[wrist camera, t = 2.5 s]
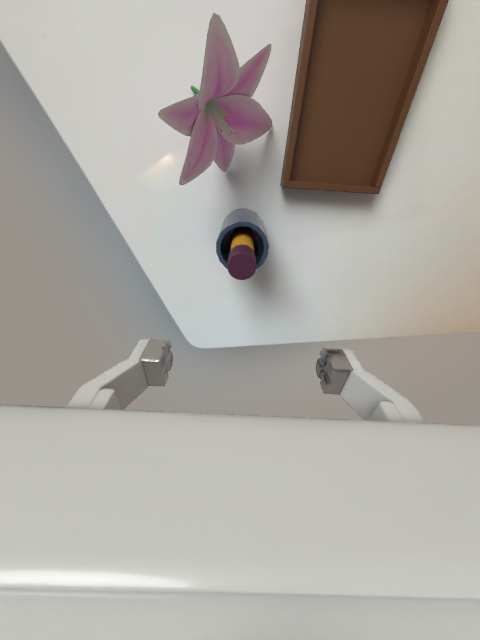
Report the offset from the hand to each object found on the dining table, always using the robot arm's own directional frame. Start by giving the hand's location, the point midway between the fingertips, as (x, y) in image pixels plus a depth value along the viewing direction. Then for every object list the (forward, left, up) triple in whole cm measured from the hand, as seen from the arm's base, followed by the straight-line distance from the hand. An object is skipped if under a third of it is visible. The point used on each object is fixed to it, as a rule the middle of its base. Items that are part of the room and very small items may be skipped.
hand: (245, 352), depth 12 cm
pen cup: (0, 0, -24) cm, 24 cm away
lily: (-11, -3, -24) cm, 27 cm away
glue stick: (0, 0, -23) cm, 23 cm away
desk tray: (-14, +10, -24) cm, 29 cm away
